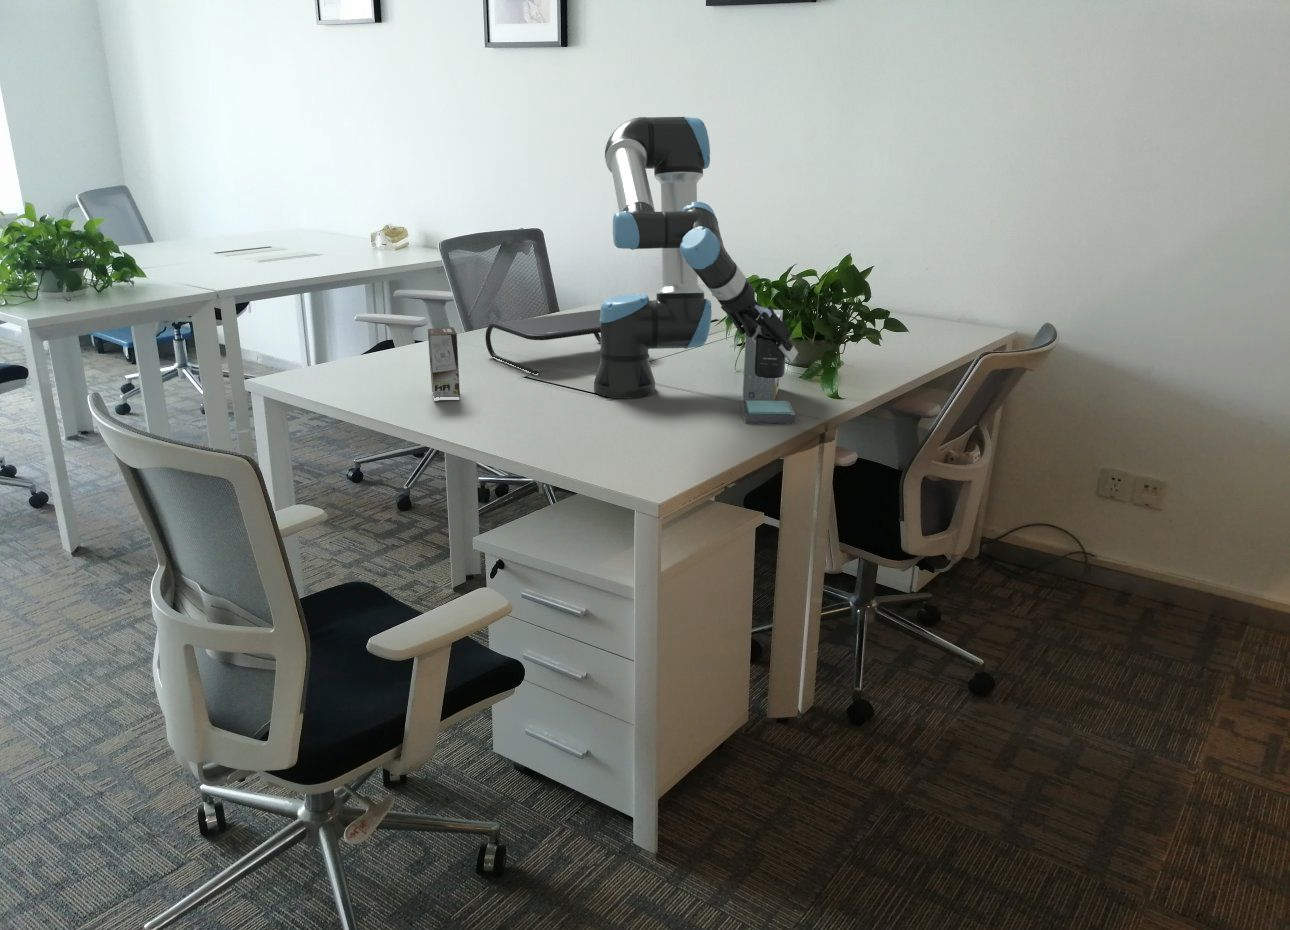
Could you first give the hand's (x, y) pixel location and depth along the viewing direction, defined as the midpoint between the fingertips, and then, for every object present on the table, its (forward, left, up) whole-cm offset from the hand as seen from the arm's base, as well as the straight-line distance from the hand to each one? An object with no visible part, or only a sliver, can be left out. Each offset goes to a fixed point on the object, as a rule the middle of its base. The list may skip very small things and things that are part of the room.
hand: (781, 354), depth 230 cm
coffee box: (-79, +14, -14) cm, 81 cm away
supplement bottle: (-3, -2, -4) cm, 6 cm away
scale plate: (-3, -2, -13) cm, 13 cm away
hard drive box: (-2, +17, -14) cm, 22 cm away
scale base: (-3, -2, -14) cm, 14 cm away
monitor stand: (-53, +57, -15) cm, 79 cm away
